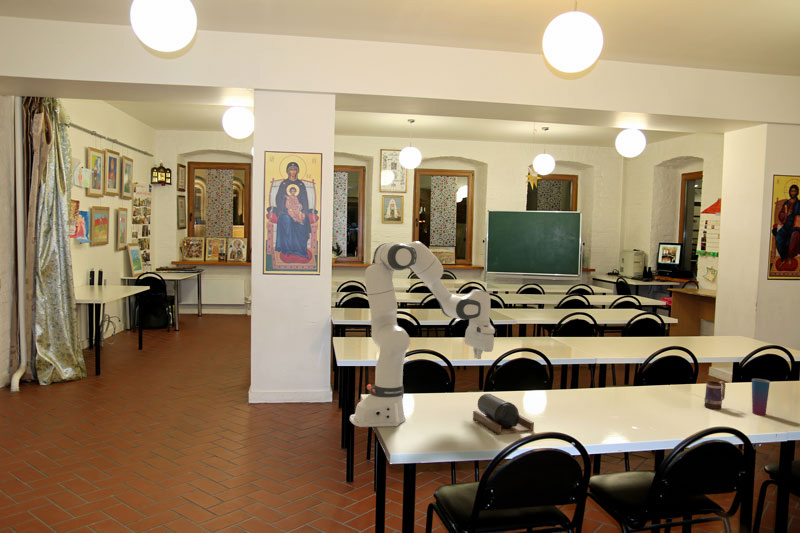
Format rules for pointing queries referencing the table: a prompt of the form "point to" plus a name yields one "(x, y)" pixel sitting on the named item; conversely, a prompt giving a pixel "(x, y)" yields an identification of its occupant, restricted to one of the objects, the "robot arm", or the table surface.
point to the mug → (714, 394)
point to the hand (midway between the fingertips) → (477, 358)
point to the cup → (759, 396)
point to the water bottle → (499, 411)
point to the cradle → (485, 421)
